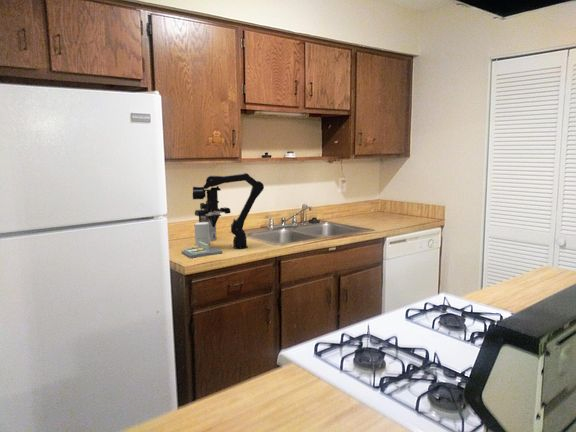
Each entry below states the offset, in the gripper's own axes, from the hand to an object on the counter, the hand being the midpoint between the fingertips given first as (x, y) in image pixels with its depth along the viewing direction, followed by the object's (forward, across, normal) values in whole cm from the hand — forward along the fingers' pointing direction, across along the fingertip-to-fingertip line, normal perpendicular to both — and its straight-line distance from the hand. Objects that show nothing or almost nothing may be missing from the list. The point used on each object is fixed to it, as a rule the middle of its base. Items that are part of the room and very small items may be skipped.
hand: (213, 227), depth 231 cm
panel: (+11, +13, +6) cm, 18 cm away
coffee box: (+12, -7, -25) cm, 29 cm away
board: (+12, +10, +6) cm, 17 cm away
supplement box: (+12, +1, -14) cm, 19 cm away
